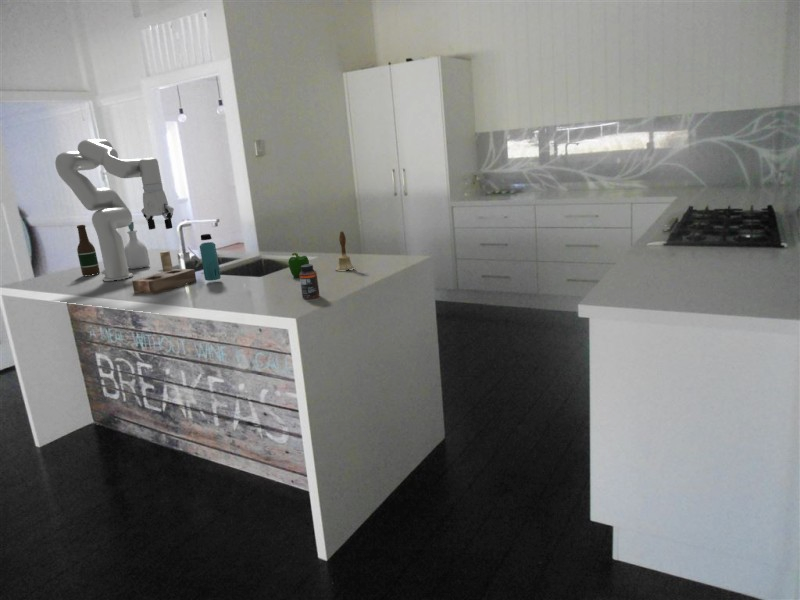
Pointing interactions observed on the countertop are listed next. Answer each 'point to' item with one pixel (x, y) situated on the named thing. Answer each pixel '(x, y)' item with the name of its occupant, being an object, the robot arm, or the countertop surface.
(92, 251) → the beer bottle
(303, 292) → the supplement bottle
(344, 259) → the hand bell
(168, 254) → the pin
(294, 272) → the bell pepper
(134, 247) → the soap bottle
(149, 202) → the robot arm
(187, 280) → the bore block
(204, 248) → the beverage bottle
